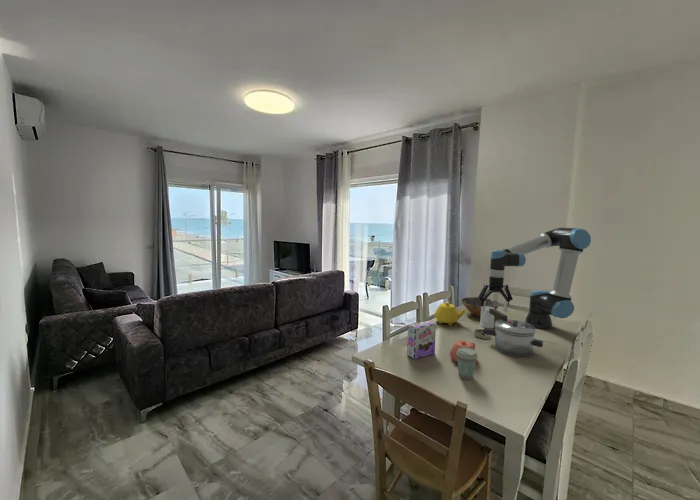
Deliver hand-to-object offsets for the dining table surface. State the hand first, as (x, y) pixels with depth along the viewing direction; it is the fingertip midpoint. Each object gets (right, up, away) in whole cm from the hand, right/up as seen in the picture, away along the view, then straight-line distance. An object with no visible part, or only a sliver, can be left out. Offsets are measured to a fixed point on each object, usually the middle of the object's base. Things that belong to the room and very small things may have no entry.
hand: (494, 311), depth 179 cm
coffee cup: (-34, -20, -45) cm, 60 cm away
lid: (+1, -4, -12) cm, 13 cm away
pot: (+2, -17, -18) cm, 24 cm away
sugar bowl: (-29, -18, -29) cm, 45 cm away
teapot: (-19, -12, +23) cm, 32 cm away
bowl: (+8, -11, +39) cm, 42 cm away
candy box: (-49, -18, -24) cm, 57 cm away
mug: (+2, -13, +16) cm, 21 cm away
